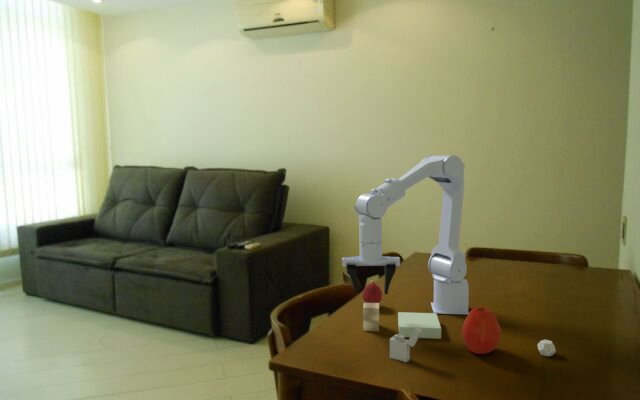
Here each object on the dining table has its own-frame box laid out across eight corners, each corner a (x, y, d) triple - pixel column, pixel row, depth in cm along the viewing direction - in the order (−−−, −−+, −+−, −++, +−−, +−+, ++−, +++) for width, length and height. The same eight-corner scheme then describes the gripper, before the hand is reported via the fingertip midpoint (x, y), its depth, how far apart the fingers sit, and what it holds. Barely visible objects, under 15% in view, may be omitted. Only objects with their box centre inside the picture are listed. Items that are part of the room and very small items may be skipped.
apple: (496, 363, 94) (497, 314, 93) (457, 354, 99) (458, 308, 98) (503, 348, 101) (504, 303, 100) (466, 340, 106) (467, 297, 105)
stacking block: (436, 324, 117) (436, 313, 117) (441, 340, 107) (441, 328, 107) (398, 322, 118) (398, 312, 118) (399, 338, 109) (399, 326, 108)
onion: (381, 311, 126) (381, 284, 125) (361, 310, 127) (361, 283, 126) (383, 304, 131) (382, 278, 131) (363, 303, 133) (363, 277, 132)
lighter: (389, 357, 98) (389, 322, 97) (392, 354, 99) (393, 320, 98) (419, 366, 94) (419, 330, 93) (422, 362, 95) (423, 327, 94)
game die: (547, 359, 96) (548, 346, 95) (533, 352, 99) (533, 339, 99) (559, 356, 97) (559, 343, 97) (544, 349, 100) (545, 336, 100)
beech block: (379, 325, 116) (379, 303, 115) (378, 331, 112) (378, 308, 112) (363, 324, 117) (363, 302, 116) (363, 330, 113) (363, 308, 112)
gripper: (397, 237, 116) (397, 288, 117) (342, 238, 116) (342, 288, 118) (401, 243, 109) (401, 296, 110) (342, 243, 109) (342, 297, 111)
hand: (371, 293), depth 113 cm, fingers open, 7 cm apart
